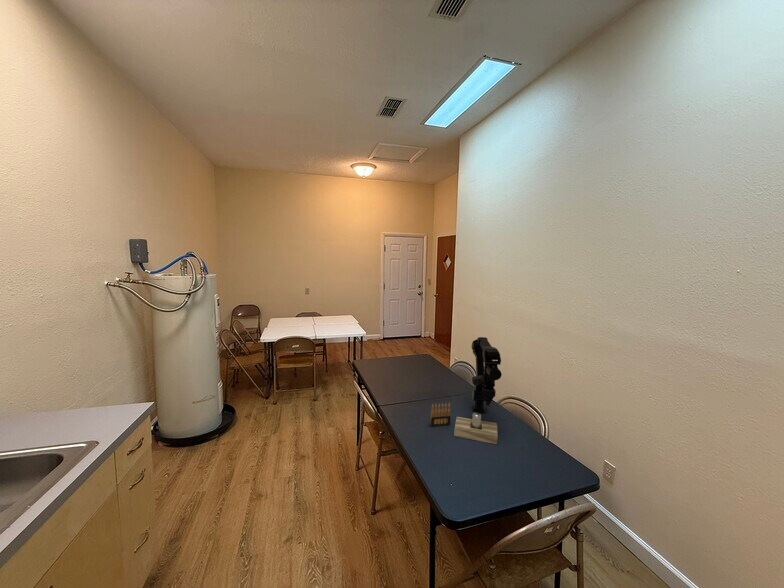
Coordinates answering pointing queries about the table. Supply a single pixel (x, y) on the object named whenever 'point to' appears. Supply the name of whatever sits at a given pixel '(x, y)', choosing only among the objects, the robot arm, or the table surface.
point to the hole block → (476, 430)
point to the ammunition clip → (440, 415)
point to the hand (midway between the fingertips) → (487, 401)
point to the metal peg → (476, 420)
